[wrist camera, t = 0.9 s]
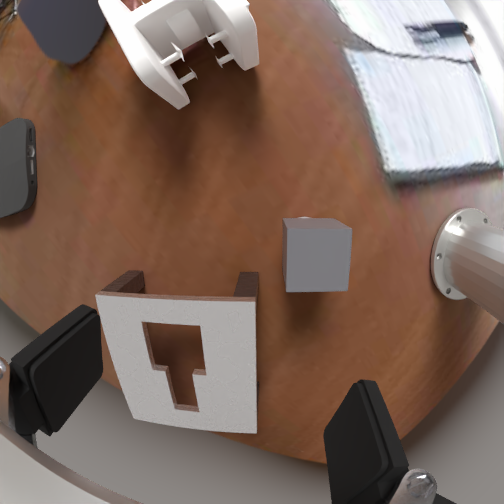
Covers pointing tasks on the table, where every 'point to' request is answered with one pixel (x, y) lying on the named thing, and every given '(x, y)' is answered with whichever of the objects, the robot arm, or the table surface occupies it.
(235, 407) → the miniature table
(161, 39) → the cable organizer
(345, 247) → the peg
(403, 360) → the table surface
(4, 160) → the media streaming box
